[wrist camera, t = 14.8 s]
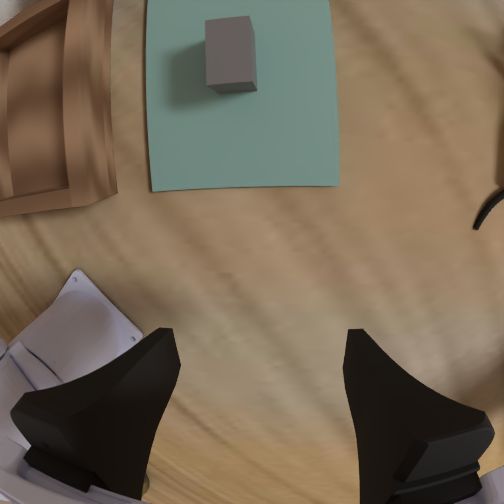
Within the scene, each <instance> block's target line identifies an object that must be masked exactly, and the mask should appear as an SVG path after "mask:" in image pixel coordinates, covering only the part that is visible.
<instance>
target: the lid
mask: <svg viewBox="0 0 504 504" xmlns="http://www.w3.org/2000/svg"><path fill="white" fill-rule="evenodd" d="M146 103H147V126H148V143H149V157H150V170H151V181H152V191H153V192H156V191H170V190H186V189H203V188H225V187H256V186H339V126H338V100H337V82H336V68H335V55H334V44H333V34H332V24H331V16H330V8H329V0H148V4H147V26H146Z"/></svg>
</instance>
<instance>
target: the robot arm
mask: <svg viewBox="0 0 504 504" xmlns="http://www.w3.org/2000/svg"><path fill="white" fill-rule="evenodd" d="M75 278H76V279H77V280H76V279H75ZM132 336H133V337H135V339H134V338H133V337H132ZM142 337H143V334H142V332H141V331H140V330H139V329H138V328H137V327H136V326H135V325H134V324H132V323H131V322H130V321H129V320H128V319H127V318H126V317H125V316H124V315H123V314H122V313H121V312H120V311H119V310H118V309H117V308H116V307H115V306H114V305H113V304H112V303H111V302H110V301H109V300H108V299H107V298H106V297H105V296H104V295H103V294H102V293H101V291H100V290H99V289H98V288H97V287H96V286H95V285H94V284H93V283H92V282H91V281H90V280H89V279H88V278H87V276H86V275H85V274H84V273H83V272H82V271H81V270H79V269H76V270H75V271H74V272H73V273H72V275H71V276H70V278H69V279H68V281H67V282H66V284H65V285H64V287H63V288H62V290H61V291H60V293H59V294H58V296H57V298H56V299H55V301H54V302H53V304H52V305H51V306H50V307H49V308H47V309H46V310H45V311H44V312H43V313H42V314H40V315H39V316H38V317H37V318H36V319H35V320H34V321H32V322H31V323H30V324H29V325H28V326H27V327H26V328H25V329H23V330H22V331H21V332H20V333H19V334H18V335H17V336H16V337H15V338H14V339H13V340H11V341H10V342H9V343H8V344H6V342H5V340H4V339H3V338H0V500H4V501H9V502H11V503H13V504H151V503H147V502H143V501H141V498H142V491H143V484H144V479H145V474H146V469H147V464H148V460H149V455H150V451H151V447H152V444H153V440H154V437H155V433H156V430H157V427H158V425H159V422H160V420H161V418H162V415H163V413H164V411H165V408H166V406H167V404H168V402H169V399H170V397H171V395H172V392H173V390H174V388H175V385H176V382H177V378H178V375H179V371H180V367H181V363H180V359H179V355H178V351H177V347H176V342H175V338H174V334H173V329H172V328H158V329H156V330H155V331H153V332H152V333H151V334H149V335H148V336H146V337H145V338H144V339H142V340H141V338H142ZM140 340H141V341H140ZM139 341H140V342H139ZM136 343H137V344H136ZM135 344H136V345H135ZM343 375H344V383H345V390H346V394H347V398H348V403H349V407H350V411H351V415H352V419H353V423H354V428H355V433H356V438H357V448H358V460H359V478H360V504H504V466H502V467H499V468H497V469H495V470H493V471H490V472H488V473H486V474H484V475H483V476H481V477H480V478H479V477H478V474H477V471H479V470H480V465H479V463H478V459H479V458H480V457H481V456H482V454H483V453H484V452H485V451H486V449H487V448H488V447H489V445H490V444H491V442H492V440H493V438H494V435H495V432H494V429H493V427H492V425H491V423H490V421H489V419H488V417H487V415H486V413H485V412H484V411H481V410H478V409H475V408H472V407H469V406H465V405H463V404H460V403H458V402H456V401H453V400H451V399H449V398H447V397H445V396H443V395H441V394H439V393H437V392H436V391H434V390H432V389H430V388H429V387H427V386H425V385H424V384H422V383H421V382H420V381H418V380H417V379H415V378H414V377H413V376H411V375H410V374H409V373H407V372H406V371H405V370H404V369H403V368H401V367H400V366H399V365H398V364H397V363H396V362H395V361H393V360H392V359H391V358H390V357H389V356H388V355H387V354H386V353H385V352H384V351H383V350H382V349H381V348H380V347H379V346H378V345H377V343H376V342H375V341H374V340H373V339H372V338H371V337H370V336H369V335H368V334H367V333H366V332H365V331H364V330H363V329H348V334H347V342H346V349H345V356H344V363H343Z"/></svg>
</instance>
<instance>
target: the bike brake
mask: <svg viewBox="0 0 504 504" xmlns="http://www.w3.org/2000/svg"><path fill="white" fill-rule="evenodd" d="M502 199H504V190H503V191H501V192H500V193H498V194H497V195H496V196H495V197H494V198H492V199H491V200H490V201H489V202H488V203H487V205H486V206H485V207H484V209H483V210H482V211H481V213H480V214H479V216H478V218H477V220H476V221H475V224H474V226H473V227H474V228H475V229H476V230H478V229H479V227H480V225H481V224H482V222H483V220H484V219H485V218H486V216H487V215H488V213H489V212H490V211H491V209H492V208H493V207H494V206H495V205H496V204H497V203H499V202H500V201H501V200H502Z"/></svg>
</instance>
